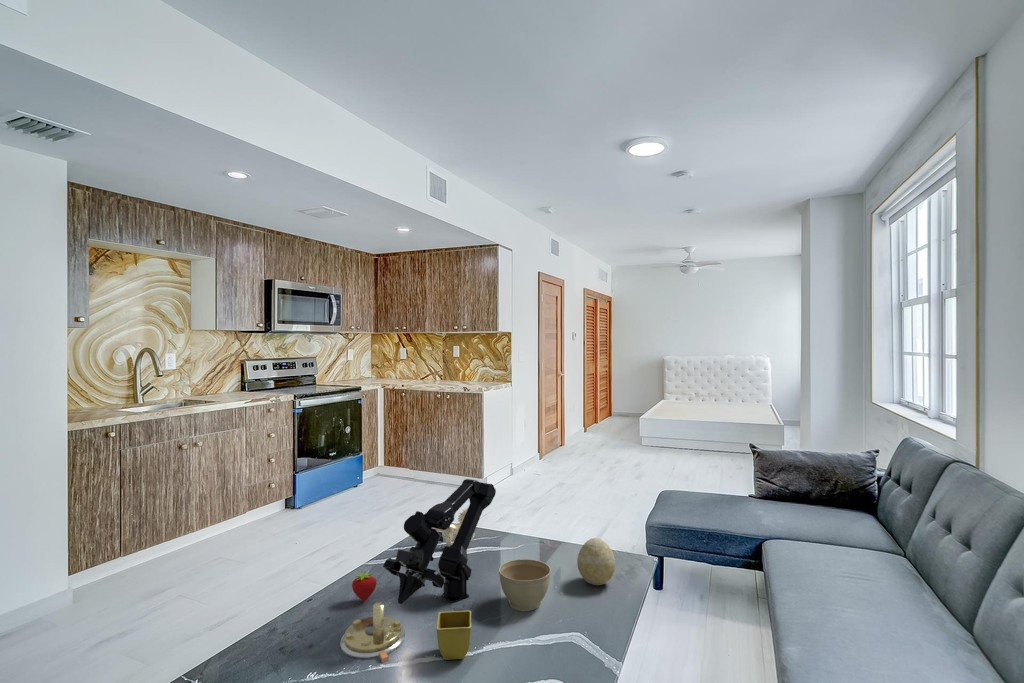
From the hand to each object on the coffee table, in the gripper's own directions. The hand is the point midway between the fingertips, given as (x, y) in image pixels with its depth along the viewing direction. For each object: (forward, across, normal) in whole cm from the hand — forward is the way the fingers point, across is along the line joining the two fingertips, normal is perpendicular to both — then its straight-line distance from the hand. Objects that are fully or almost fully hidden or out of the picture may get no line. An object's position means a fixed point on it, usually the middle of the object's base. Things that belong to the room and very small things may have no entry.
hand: (399, 603), depth 139 cm
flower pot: (+6, +18, +7) cm, 20 cm away
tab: (+13, +3, -1) cm, 13 cm away
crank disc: (+10, -5, +3) cm, 11 cm away
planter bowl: (-16, +22, +30) cm, 40 cm away
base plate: (+10, -5, +3) cm, 11 cm away
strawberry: (0, -23, +13) cm, 27 cm away
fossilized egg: (-33, +36, +48) cm, 68 cm away
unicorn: (-34, -23, +49) cm, 64 cm away
